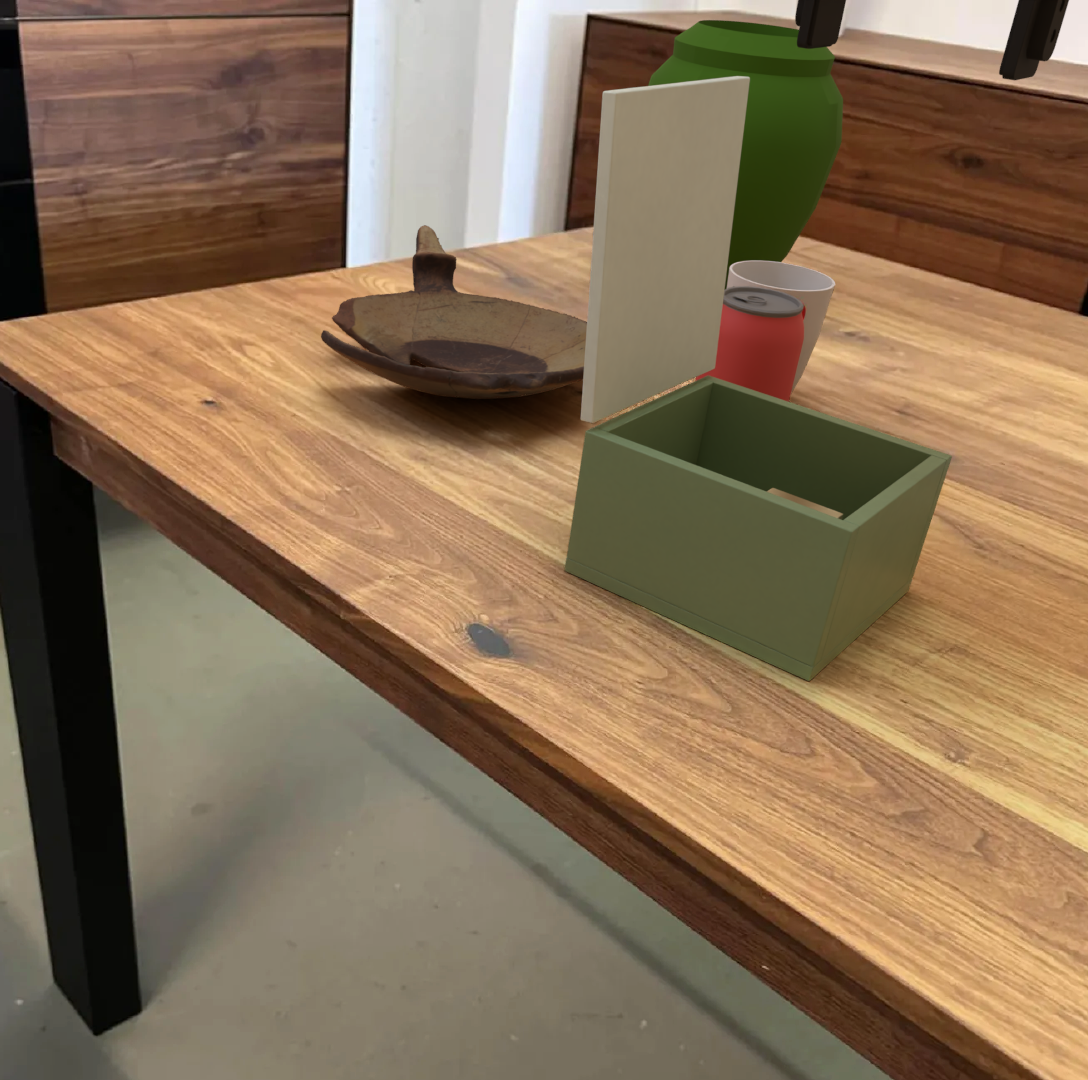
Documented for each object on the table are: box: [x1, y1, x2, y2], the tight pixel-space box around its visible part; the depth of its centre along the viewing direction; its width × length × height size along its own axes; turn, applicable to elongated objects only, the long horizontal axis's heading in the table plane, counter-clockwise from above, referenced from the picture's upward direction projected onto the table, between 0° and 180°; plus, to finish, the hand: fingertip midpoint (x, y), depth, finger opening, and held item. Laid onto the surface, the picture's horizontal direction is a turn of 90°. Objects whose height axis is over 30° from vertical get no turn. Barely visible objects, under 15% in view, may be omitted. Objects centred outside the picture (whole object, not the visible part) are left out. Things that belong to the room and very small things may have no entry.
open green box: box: [564, 375, 953, 682], centre depth 70 cm, size 16×14×9 cm
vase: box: [647, 19, 844, 290], centre depth 118 cm, size 20×20×24 cm
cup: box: [727, 261, 836, 394], centre depth 97 cm, size 8×8×10 cm
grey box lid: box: [580, 76, 750, 424], centre depth 67 cm, size 17×14×1 cm
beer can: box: [694, 286, 804, 402], centre depth 84 cm, size 7×7×12 cm
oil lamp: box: [320, 224, 587, 400], centre depth 96 cm, size 22×30×8 cm
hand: (912, 61), depth 56 cm, fingers open, 9 cm apart
